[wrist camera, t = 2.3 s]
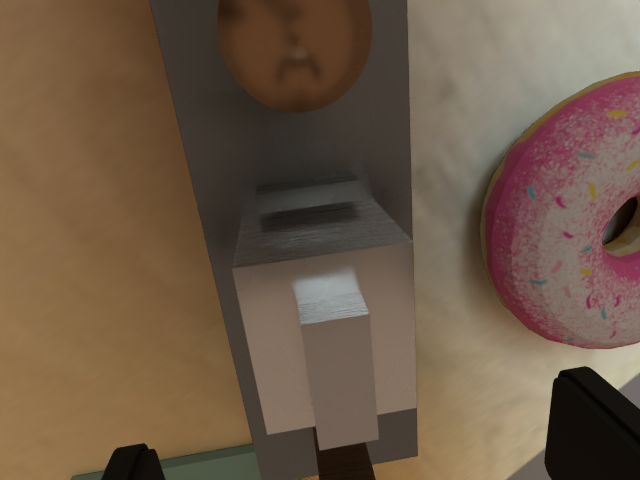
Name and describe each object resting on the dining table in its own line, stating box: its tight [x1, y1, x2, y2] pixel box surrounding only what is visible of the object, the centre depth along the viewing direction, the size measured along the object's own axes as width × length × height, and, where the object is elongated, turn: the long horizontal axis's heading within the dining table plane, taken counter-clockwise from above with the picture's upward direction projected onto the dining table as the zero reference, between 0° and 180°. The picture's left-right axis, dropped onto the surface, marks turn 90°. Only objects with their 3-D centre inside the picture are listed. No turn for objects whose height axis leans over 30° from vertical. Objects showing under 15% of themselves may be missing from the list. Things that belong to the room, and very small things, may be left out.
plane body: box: [149, 0, 418, 480], centre depth 15 cm, size 22×8×10 cm, turn 6°
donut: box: [480, 71, 640, 349], centre depth 19 cm, size 14×13×5 cm
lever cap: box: [232, 199, 417, 451], centre depth 13 cm, size 6×5×6 cm
